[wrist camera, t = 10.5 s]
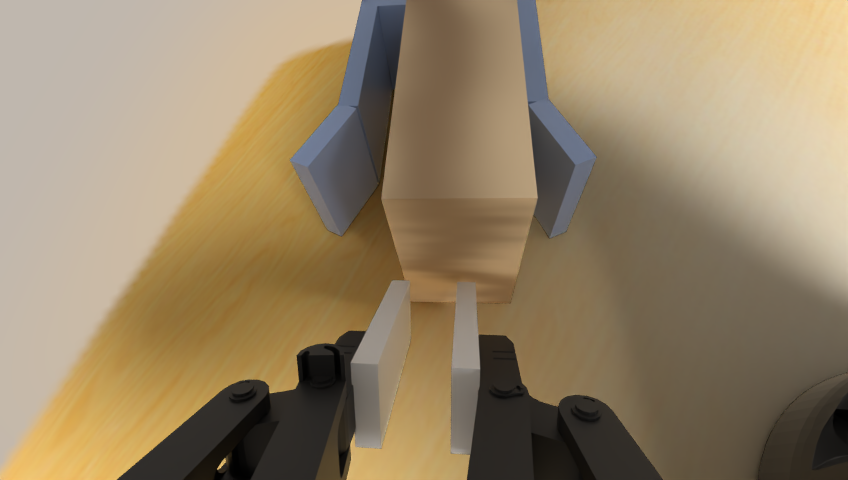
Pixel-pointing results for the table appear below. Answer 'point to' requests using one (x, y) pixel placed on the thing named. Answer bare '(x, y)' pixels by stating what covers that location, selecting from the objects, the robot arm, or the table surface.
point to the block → (460, 150)
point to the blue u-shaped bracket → (369, 112)
